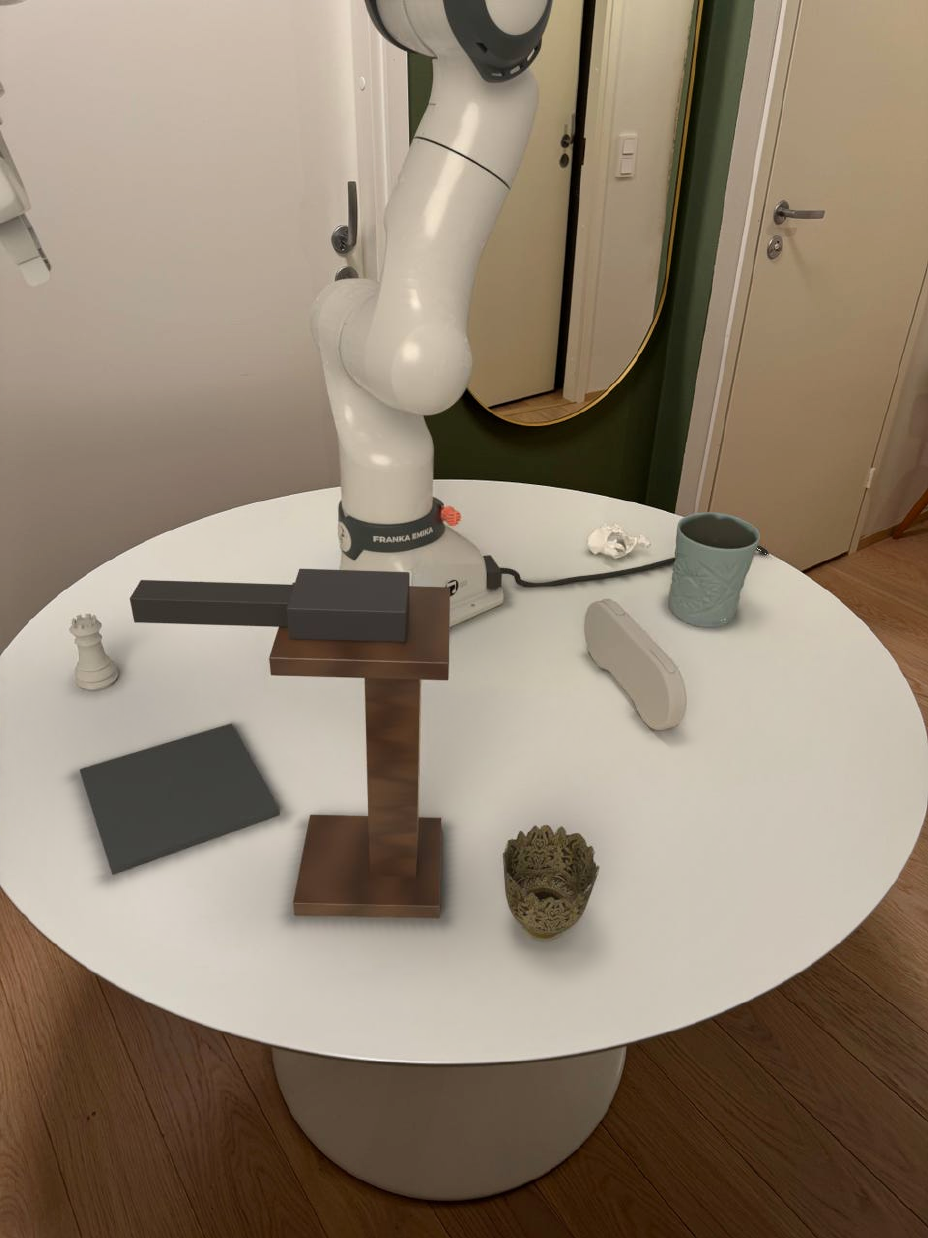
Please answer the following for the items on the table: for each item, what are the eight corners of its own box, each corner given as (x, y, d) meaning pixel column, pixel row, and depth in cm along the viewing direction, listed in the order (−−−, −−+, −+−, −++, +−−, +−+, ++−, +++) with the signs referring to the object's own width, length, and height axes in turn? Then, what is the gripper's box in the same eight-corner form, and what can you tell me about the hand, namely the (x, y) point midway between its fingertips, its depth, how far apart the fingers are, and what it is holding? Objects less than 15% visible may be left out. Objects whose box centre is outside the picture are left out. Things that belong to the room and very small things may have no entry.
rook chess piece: (105, 695, 95) (91, 634, 91) (68, 688, 96) (52, 628, 92) (126, 671, 99) (114, 611, 95) (90, 665, 100) (76, 606, 95)
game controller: (681, 741, 93) (695, 678, 88) (662, 745, 92) (676, 682, 87) (596, 642, 108) (605, 584, 103) (580, 645, 107) (587, 587, 103)
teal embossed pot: (730, 593, 119) (749, 513, 113) (748, 634, 111) (770, 550, 104) (656, 589, 119) (671, 509, 113) (668, 630, 111) (685, 546, 104)
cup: (492, 891, 75) (498, 824, 71) (577, 887, 76) (587, 821, 71) (503, 967, 69) (510, 899, 64) (595, 962, 69) (608, 895, 65)
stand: (441, 829, 81) (450, 586, 67) (439, 918, 72) (449, 663, 58) (310, 826, 80) (292, 581, 66) (293, 915, 72) (268, 657, 58)
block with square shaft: (409, 601, 65) (409, 571, 63) (405, 642, 60) (406, 612, 59) (151, 593, 64) (145, 563, 63) (127, 634, 60) (120, 603, 58)
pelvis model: (613, 546, 122) (583, 523, 126) (608, 571, 124) (578, 548, 129) (655, 532, 125) (625, 511, 130) (649, 557, 128) (619, 535, 132)
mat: (232, 728, 91) (231, 723, 91) (279, 814, 81) (279, 808, 81) (81, 775, 85) (79, 769, 84) (112, 874, 75) (110, 868, 74)
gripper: (-37, 53, 55) (83, 272, 62) (-15, 86, 72) (77, 255, 79) (-136, 89, 54) (-2, 307, 61) (-90, 114, 71) (11, 282, 78)
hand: (43, 278), depth 71 cm, fingers open, 8 cm apart
